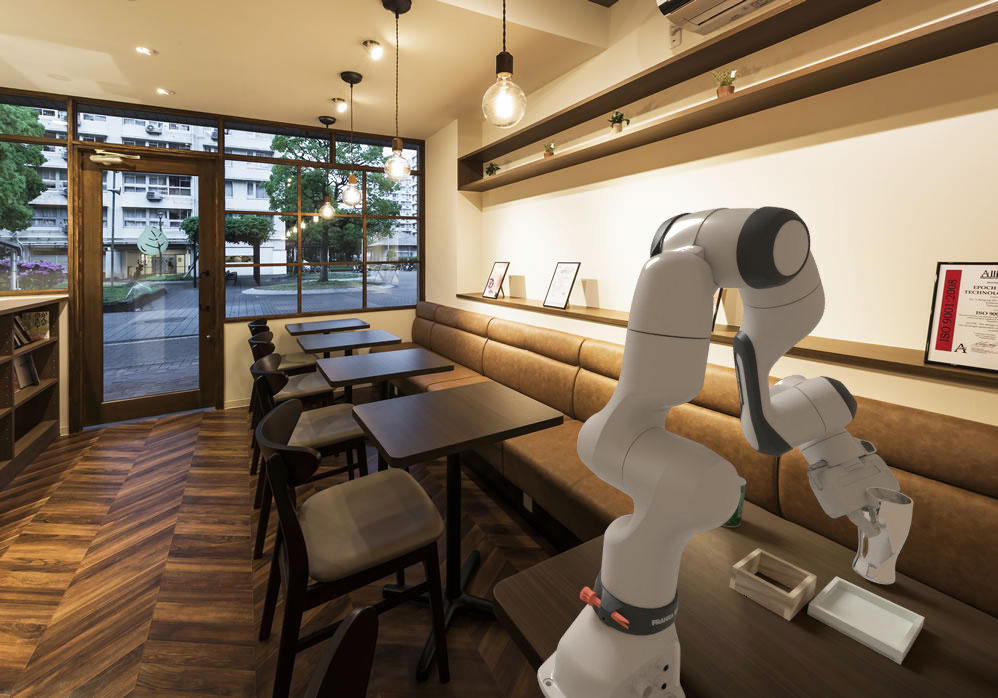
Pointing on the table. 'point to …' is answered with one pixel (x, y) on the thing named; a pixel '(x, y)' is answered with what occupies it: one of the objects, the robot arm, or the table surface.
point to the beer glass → (883, 535)
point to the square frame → (768, 593)
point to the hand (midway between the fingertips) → (886, 530)
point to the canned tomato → (737, 515)
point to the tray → (867, 618)
